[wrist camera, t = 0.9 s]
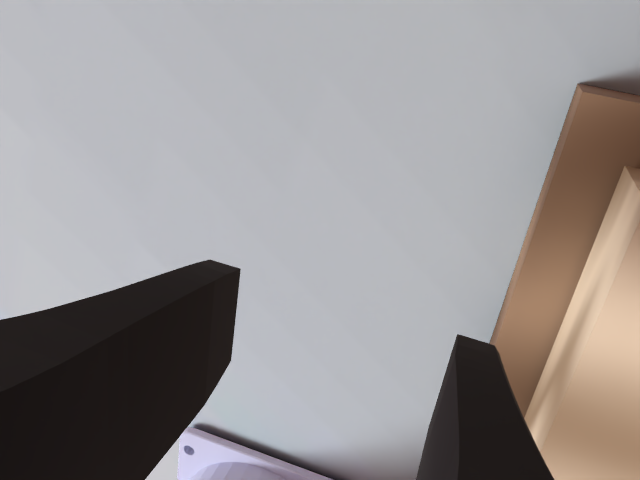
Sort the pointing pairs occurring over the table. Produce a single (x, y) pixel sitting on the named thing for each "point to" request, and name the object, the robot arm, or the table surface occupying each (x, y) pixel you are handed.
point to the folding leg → (597, 358)
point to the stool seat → (564, 229)
